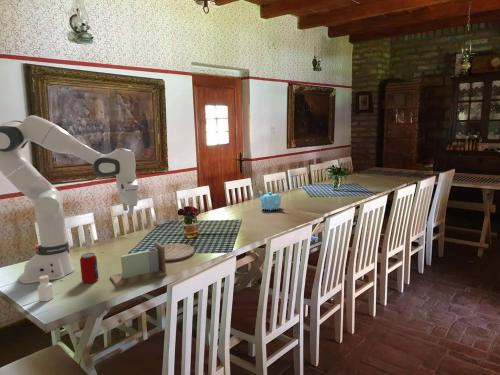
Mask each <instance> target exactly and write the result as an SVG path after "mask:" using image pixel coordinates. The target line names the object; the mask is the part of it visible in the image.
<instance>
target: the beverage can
mask: <svg viewBox="0 0 500 375" xmlns="http://www.w3.org/2000/svg"><path fill="white" fill-rule="evenodd" d="M79 264H80V273H81V274H80V275H81V280H82V282H83V283H85V284H92V283H95V282H97V280H99V269H98V259H97V256H96V255H95V253H94V252H87V253H83V254H82V255H81V256H80V258H79Z"/></svg>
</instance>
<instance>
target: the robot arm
mask: <svg viewBox="0 0 500 375" xmlns="http://www.w3.org/2000/svg"><path fill="white" fill-rule="evenodd" d="M28 142H32V143H35V144H37V145H39V146H41V147H42V148H44V149H46V150H49V151H51V152H54V153H57V154H68V155H73V156H75V157H78V158H80V159H82V160H84V161H86V162H88V163H89V164H92V168H93V172H94V174H96V176H98V177H100V178H105V179H106V178H109V177H114V176H115V181H116V188H117V189H118V200H119V201H120V202H121V204H122V210H123V211H124V212H127V211H128V215H129V216H133V215H134V210H135V207H137V205H138V198H139V197H138V193H139V192H138V190H139V184H138V182H137V174H136V166H137V164H136V158H135V153H134V152H133V150H132V149H129V148H123V147H117V148H116V149H115V150H113V151H111V152H109V153H102V152H99V151H97V150H95V149H93V148H91V147H90V146H88V145H86V144H84V143H82V142H80V141H79V140H78V139H77V138H75V137H74V136H73V135H72V134H70V133H69V132H68V131H67V130H65V129H64V128H62V127H61V126H59V125H58V124H55V123H54V122H51V121H49V120H47V119H46V118H43V117H40V116H38V115H33V114H31V115H29V116H26V117H25V118H24V119H23V121H22V120H12V121H8V122H4V123H1V124H0V172H1V174H2V175H3V176H4V177H5V178H6V179H7V180H8V181H9V182H10V183H11V184H12V185H13V186H14V187H15V188H16V189H17V190H18V191H19V192H21V193H22V194H23V195H25V197H27V198H28V199H30V200H31V201H32V202H33V208H34V214H35V219H36V220H35V221H36V224H37V227H38V228H37V229H38V235H39V243H40V244H39V245H38V244H35V245H34V250H35V251H36V252H35V253H36V254H35V255H33V257H31V258H29V260H28V261H27V262H26V263H25V265H24V269H23V272H22V273H21V274H19V275H18V276H19V278H18V280H19V282H20V283H21V284H23V285H28V284H34V283H40V279H39V277H41V276H45V275H47V276H48V277H49V281H52V280H59V279H62V278H64V277H65V276H67V275H69V274H71V273H72V272H74V270H75V268H74V265H73V263H72V259H71V256H70V244H69V241H68V239H67V238H68V237H67V228H66V227H67V226H66V222H65V215H64V207H63V203H64V196H63V195H62V193H61V192H60V191H59V190H58V188H56V187H55V186H54V185H53V184H52V183H51V182H50V181H48V179H46V178H45V177H44V176H43V175H42V174H41V173H40V172H39V171H38V170H37V168H35V167H34V166H33V164H32V163H31V162H30V161H29V160H28V158H26V157H25V156H24V155H23V153H22V149H24V147H25V146H26V145H27V143H28Z"/></svg>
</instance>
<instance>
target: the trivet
mask: <svg viewBox="0 0 500 375" xmlns="http://www.w3.org/2000/svg"><path fill="white" fill-rule="evenodd" d="M161 245H162V246H164V251H165V264H166V263H177V262H179V261H183V260H186V259H189V258H191V257H192V256H193V255H194V254H195V247H193V246H192V245H189V244H187V243H186V244H185V243H166V244H161ZM153 248H155V246H153V247H151V248H150V249H153Z"/></svg>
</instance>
